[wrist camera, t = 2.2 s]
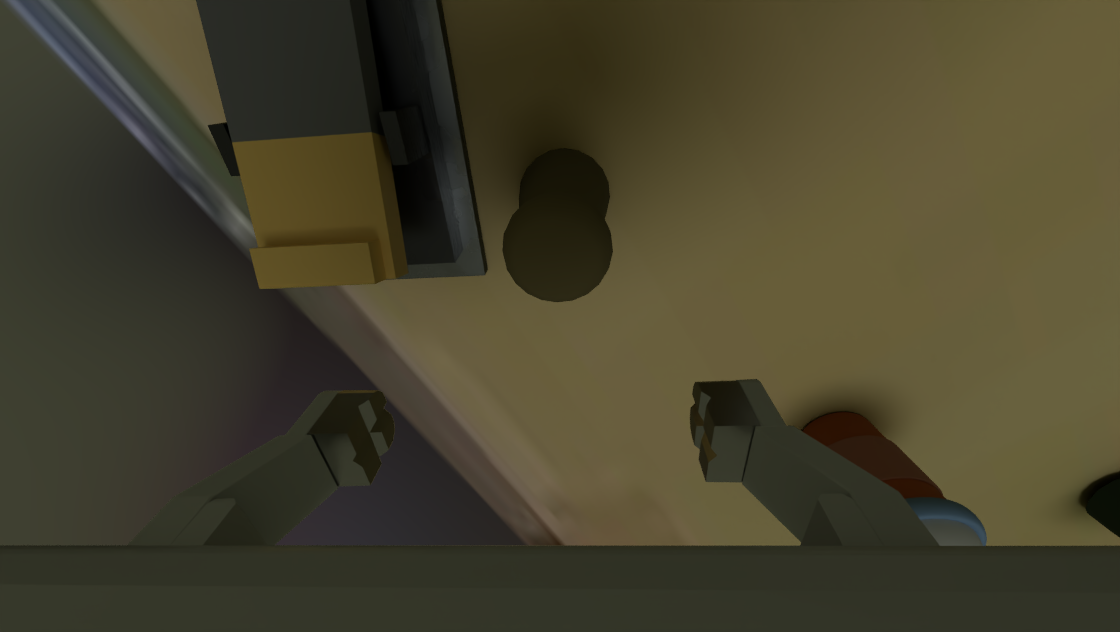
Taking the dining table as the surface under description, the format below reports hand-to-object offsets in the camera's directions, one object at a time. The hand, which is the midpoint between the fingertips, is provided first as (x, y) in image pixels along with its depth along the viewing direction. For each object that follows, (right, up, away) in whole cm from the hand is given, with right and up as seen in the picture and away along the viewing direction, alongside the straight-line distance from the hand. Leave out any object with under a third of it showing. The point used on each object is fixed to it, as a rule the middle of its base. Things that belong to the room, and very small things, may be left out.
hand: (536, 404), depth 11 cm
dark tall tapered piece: (+1, +10, +17) cm, 20 cm away
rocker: (-12, +11, +10) cm, 19 cm away
